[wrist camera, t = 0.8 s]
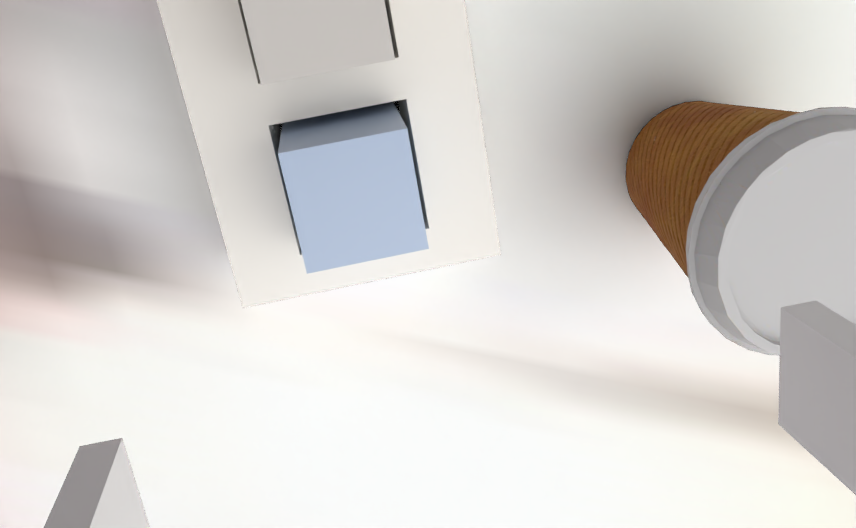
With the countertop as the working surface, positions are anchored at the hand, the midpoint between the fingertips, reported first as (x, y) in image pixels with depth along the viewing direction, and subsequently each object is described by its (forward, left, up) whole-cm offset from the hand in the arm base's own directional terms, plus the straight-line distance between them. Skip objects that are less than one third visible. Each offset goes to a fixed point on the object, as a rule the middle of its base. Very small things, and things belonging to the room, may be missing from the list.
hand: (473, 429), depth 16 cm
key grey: (+1, -8, -21) cm, 22 cm away
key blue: (+2, -1, -21) cm, 21 cm away
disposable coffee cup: (-15, +3, -23) cm, 28 cm away
